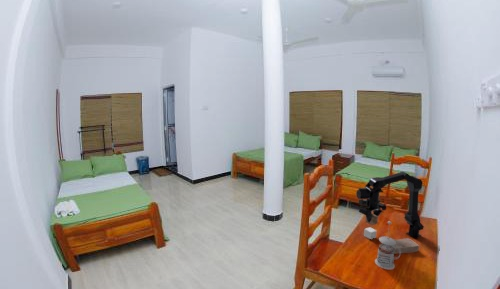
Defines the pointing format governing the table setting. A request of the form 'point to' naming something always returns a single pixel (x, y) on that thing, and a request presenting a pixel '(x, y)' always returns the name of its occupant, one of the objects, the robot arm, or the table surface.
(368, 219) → the robot arm
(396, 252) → the brick
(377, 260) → the french press
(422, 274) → the table surface
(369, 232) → the white cube
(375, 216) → the walnut cube
